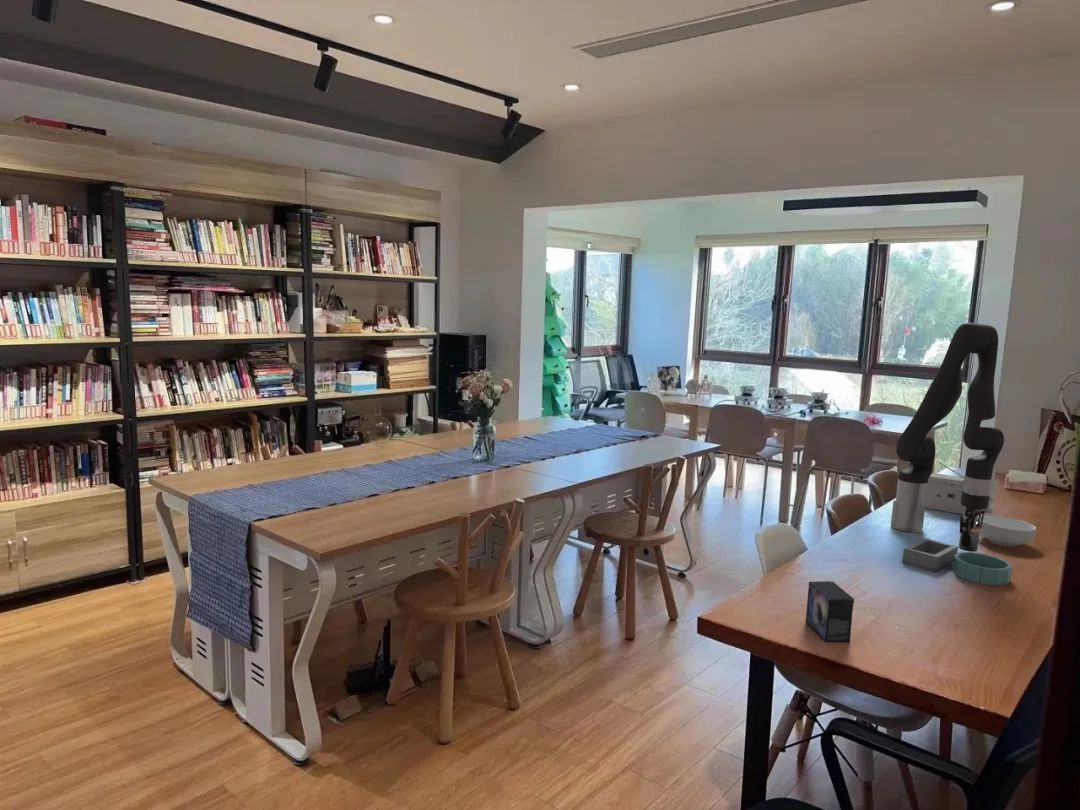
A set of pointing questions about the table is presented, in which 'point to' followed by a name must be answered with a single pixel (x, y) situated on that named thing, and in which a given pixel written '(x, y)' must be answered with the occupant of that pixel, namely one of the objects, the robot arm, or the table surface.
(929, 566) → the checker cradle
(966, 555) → the cup
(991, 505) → the plastic bottle
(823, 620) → the small box
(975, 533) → the cell
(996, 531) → the cereal bowl
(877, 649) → the table surface
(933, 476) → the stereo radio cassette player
